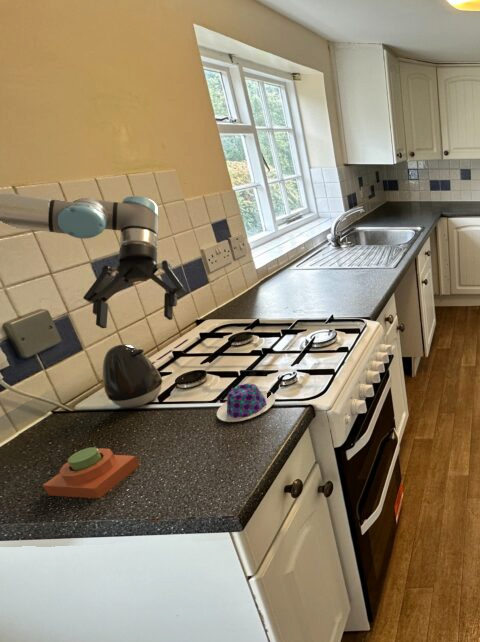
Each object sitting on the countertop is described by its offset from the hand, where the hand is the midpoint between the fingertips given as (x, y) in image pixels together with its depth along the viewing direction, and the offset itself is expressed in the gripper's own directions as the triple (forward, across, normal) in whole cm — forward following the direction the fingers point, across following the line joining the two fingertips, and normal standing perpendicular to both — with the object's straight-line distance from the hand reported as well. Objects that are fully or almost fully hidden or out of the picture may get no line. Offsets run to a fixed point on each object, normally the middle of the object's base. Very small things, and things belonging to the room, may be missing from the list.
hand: (135, 322), depth 103 cm
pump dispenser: (+19, 0, -4) cm, 20 cm away
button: (+36, -2, +18) cm, 40 cm away
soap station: (+39, -2, +15) cm, 42 cm away
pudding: (+29, -25, +5) cm, 38 cm away
